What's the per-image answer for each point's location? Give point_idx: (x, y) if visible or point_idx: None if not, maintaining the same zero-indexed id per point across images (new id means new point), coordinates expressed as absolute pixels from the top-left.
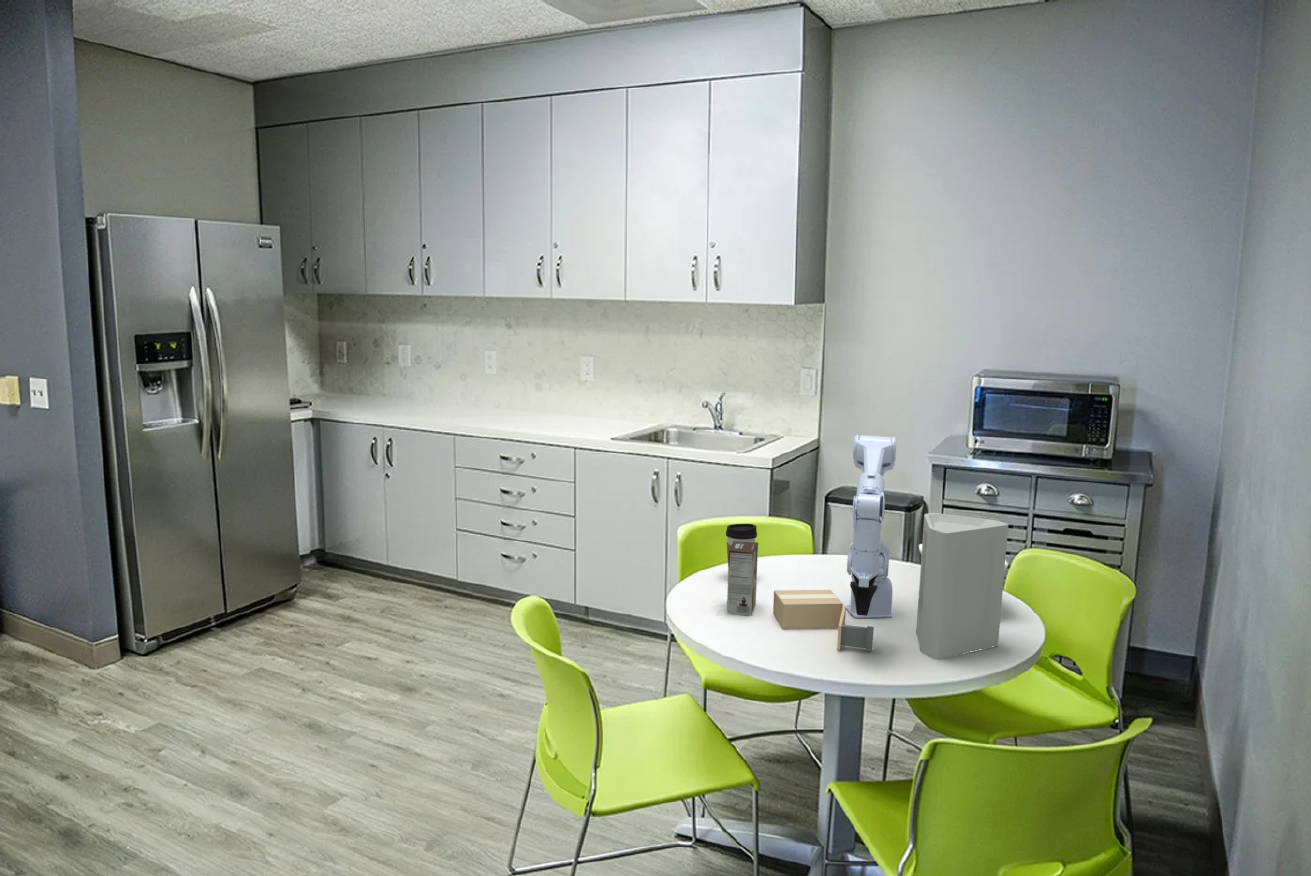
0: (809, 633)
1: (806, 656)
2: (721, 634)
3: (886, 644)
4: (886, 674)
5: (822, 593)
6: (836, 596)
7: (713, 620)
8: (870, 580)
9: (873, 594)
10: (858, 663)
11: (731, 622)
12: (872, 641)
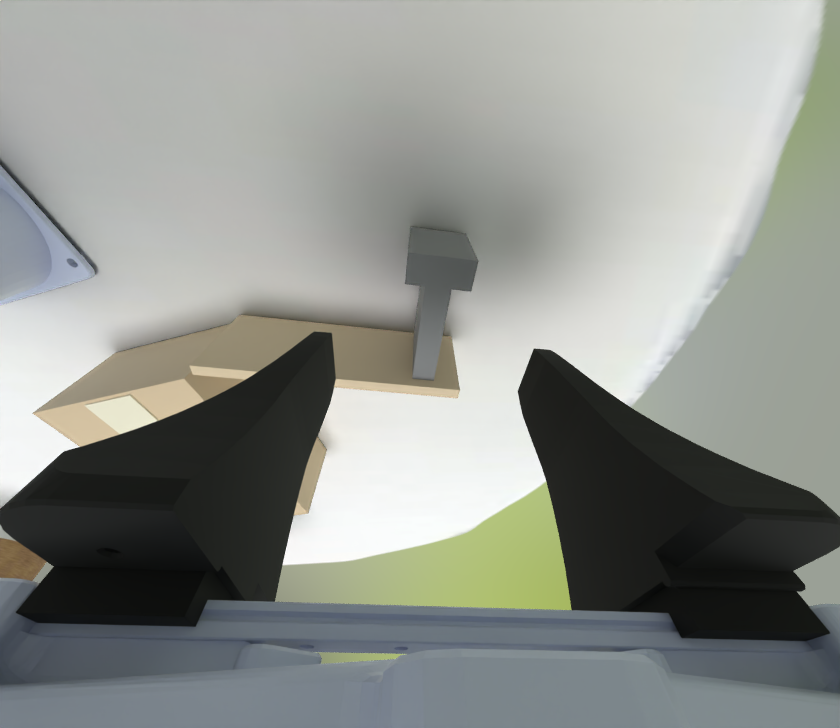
0: (330, 402)
1: (498, 408)
2: (398, 522)
3: (337, 150)
4: (665, 185)
5: (112, 436)
6: (106, 397)
7: (330, 533)
8: (258, 464)
9: (725, 458)
10: (550, 284)
11: (328, 515)
12: (471, 246)
